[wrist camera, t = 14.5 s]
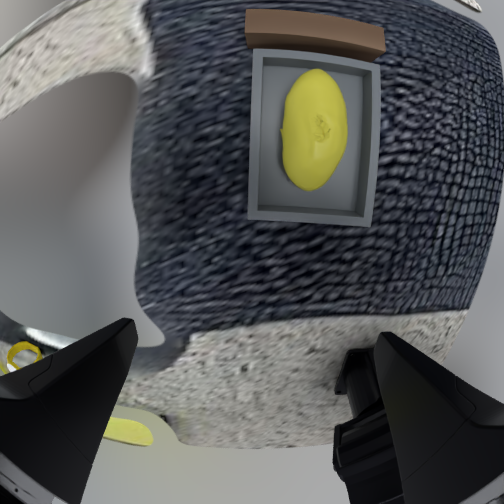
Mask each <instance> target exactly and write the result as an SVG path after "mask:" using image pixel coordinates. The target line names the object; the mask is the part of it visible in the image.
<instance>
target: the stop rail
mask: <svg viewBox="0 0 504 504" xmlns="http://www.w3.org/2000/svg"><path fill="white" fill-rule="evenodd" d="M245 36H246V41H247V46H248V49H278V50H292V51H303V52H312V53H320V54H327V55H333V56H339V57H345V58H350V59H355V60H360V61H364V62H369V63H371V62H372V61H374V60H375V59H376V58H378V57H379V56H380V55H382V54H383V53H384V52H386V50H385V39H384V29H383V28H382V27H378V26H374V25H371V24H367V23H363V22H359V21H354V20H350V19H345V18H340V17H334V16H329V15H322V14H315V13H308V12H299V11H287V10H270V9H246V19H245Z"/></svg>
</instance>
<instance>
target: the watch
mask: <svg viewBox="0 0 504 504" xmlns="http://www.w3.org/2000/svg"><path fill="white" fill-rule="evenodd" d="M25 349H30V350H32V351H34V352H36V353H37V354H38V356H37V359H36V360H35V361H34V362H33V363H35V362H37V361H39V360H41V359H43V358H42V354H41V352H40V349H39V348H38V347H37V346H35V345H33V344H31V343H29V342H27V341H24V342H19V343H17V344H15V345H14V346H12V348H11V349H10V350H9V351H8V355H7V361H8V363H7V367H8V369H9V370H10V372H13V371H15V370H18V369H20V368H19V367H18V366H17V365H16V364H15V363H14V362H12V360H13V357H14V356H15V355H16V353H18V352H20V351H22V350H25Z"/></svg>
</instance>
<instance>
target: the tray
mask: <svg viewBox="0 0 504 504" xmlns="http://www.w3.org/2000/svg"><path fill="white" fill-rule="evenodd" d="M312 69H321V70H323V71H325V72H326V73H327V74H329V75H330V76H331V77H332V78H333V79H334V80H335V82H336V83H337V85H338V86H339V88H340V90H341V93H342V95H343V98H344V101H345V105H346V111H347V125H348V136H347V145H346V149H345V152H344V154H343V157H342V159H341V161H340V162H339V164H338V166H337V167H336V169H335V171H334V173H333V174H332V176H331V177H330V179H329V180H328V181H327V182H326V183H325V184H324V185H323V186H322V187H320V188H318V189H316V190H313V191H305V190H302V189H300V188H298V187H297V186H296V185H295V184H294V183H293V182H292V181H291V180H290V178H289V177H288V175H287V173H286V171H285V168H284V165H283V158H282V152H283V140H282V134H281V131H280V129H283V119H284V109H285V100H286V97H287V95H288V93H289V91H290V90H291V88H292V86H293V84H294V83H295V81H296V80H297V79H298V78H299V77H300V76H301V75H302V74H303V73H305V72H307V71H309V70H312ZM380 112H381V88H380V65H377V64H373V63H369V62H364V61H360V60H355V59H350V58H345V57H339V56H333V55H327V54H320V53H312V52H303V51H292V50H278V49H253V69H252V96H251V125H250V155H249V187H248V220H270V221H289V222H306V223H321V224H336V225H349V226H362V227H371V221H372V214H373V206H374V198H375V190H376V180H377V169H378V157H379V141H380Z"/></svg>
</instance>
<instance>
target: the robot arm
mask: <svg viewBox="0 0 504 504" xmlns="http://www.w3.org/2000/svg"><path fill="white" fill-rule="evenodd" d="M137 343H138V334H137V330H136V326H135V322H134V320H133V319H130V318H121V319H119V320H117V321H115V322H114V323H112V324H110V325H108V326H106V327H104V328H102V329H100V330H98V331H96V332H94V333H92V334H90V335H88V336H86V337H84V338H82V339H80V340H78V341H76V342H74V343H72V344H70V345H68V346H66V347H65V348H63V349H61V350H59V351H57V352H55V353H53V354H51V355H49V356H47V357H45V358H43V359H41V360H39V361H37V362H35V363H32V364H30V365H27V366H25V367H23V368H20V369H18V370H15V371H13V372H10V373H8V374H5V375H3V376H0V504H51V503H52V501H53V498H54V496H55V497H57V498H58V499H60V500H62V501H63V502H65V503H67V504H80V503H81V500H82V496H83V493H84V490H85V487H86V483H87V480H88V477H89V474H90V471H91V468H92V464H93V462H94V459H95V456H96V453H97V451H98V448H99V445H100V442H101V440H102V437H103V434H104V432H105V429H106V426H107V424H108V421H109V419H110V416H111V414H112V411H113V409H114V406H115V404H116V401H117V399H118V396H119V394H120V392H121V389H122V387H123V385H124V382H125V380H126V377H127V375H128V372H129V369H130V366H131V362H132V359H133V356H134V353H135V349H136V346H137ZM352 354H353V355H352ZM334 392H335V394H336V395H343V394H347V395H348V399H349V403H350V407H351V411H352V415H353V419H352V420H350V421H347V422H345V423H343V424H339V425H336V426H335V430H334V445H333V446H334V447H333V465H334V466H333V467H334V470H335V471H336V472H337V474H338V476H339V477H340V479H341V480H342V481H343V482H345V484H346V487H347V491H348V495H349V500H350V504H504V404H503V403H501V402H499V401H497V400H496V399H494V398H492V397H490V396H488V395H487V394H485V393H483V392H481V391H479V390H478V389H476V388H474V387H473V386H471V385H470V384H468V383H467V382H465V381H464V380H462V379H461V378H459V377H458V376H455V374H453V373H452V372H450V371H449V370H447V369H446V368H444V367H443V366H441V365H440V364H438V363H437V362H435V361H434V360H433V359H431V358H430V357H428V356H427V355H425V354H424V353H422V352H421V351H419V350H418V349H416V348H415V347H413V346H412V345H410V344H409V343H407V342H406V341H404V340H403V339H401V338H400V337H398V336H397V335H395V334H394V333H392V332H381V333H380V334H379V336H378V339H377V342H376V345H375V348H374V349H356V350H350V351H348V352H347V354H346V357H345V360H344V363H343V366H342V369H341V372H340V375H339V378H338V381H337V384H336V386H335V389H334Z"/></svg>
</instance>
